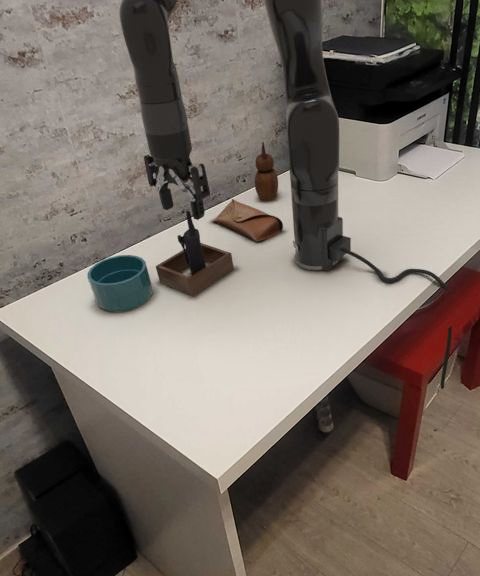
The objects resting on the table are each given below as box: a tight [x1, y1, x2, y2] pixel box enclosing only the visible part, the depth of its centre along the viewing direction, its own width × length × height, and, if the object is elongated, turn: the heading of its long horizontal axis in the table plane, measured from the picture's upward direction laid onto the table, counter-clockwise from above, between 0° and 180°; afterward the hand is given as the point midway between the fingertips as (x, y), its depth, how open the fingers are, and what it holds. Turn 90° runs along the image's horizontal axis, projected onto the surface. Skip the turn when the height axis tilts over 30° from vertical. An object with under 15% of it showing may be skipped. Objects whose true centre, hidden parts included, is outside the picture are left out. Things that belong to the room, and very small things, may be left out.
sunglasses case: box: [211, 198, 284, 242], centre depth 127 cm, size 18×7×7 cm, turn 45°
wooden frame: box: [155, 242, 235, 297], centre depth 110 cm, size 10×12×4 cm
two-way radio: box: [177, 210, 207, 276], centre depth 106 cm, size 6×4×15 cm
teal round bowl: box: [87, 254, 154, 313], centre depth 105 cm, size 11×11×6 cm
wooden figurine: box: [254, 141, 279, 201], centre depth 135 cm, size 7×6×15 cm
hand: (183, 213), depth 102 cm, fingers open, 8 cm apart
